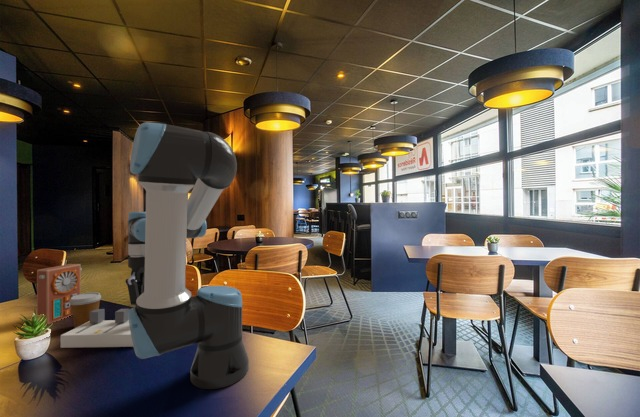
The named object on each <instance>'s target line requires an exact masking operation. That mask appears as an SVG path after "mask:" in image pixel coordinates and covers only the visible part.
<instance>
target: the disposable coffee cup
mask: <svg viewBox="0 0 640 417" xmlns="http://www.w3.org/2000/svg"><path fill="white" fill-rule="evenodd" d="M101 298H102V295H101V293H100V292H97V291H95V292H84V293H81V294H79V295H76V296H73V297H71V299H70V301H69V303H70V305H71V309H72V315H73V316H72V321H73V326H74V329H75V328H77V327H79V326H81V325H83V324H85V323H87V322H89V321H90V312H91V311H93V310H95V309H100V302H101Z"/></svg>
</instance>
